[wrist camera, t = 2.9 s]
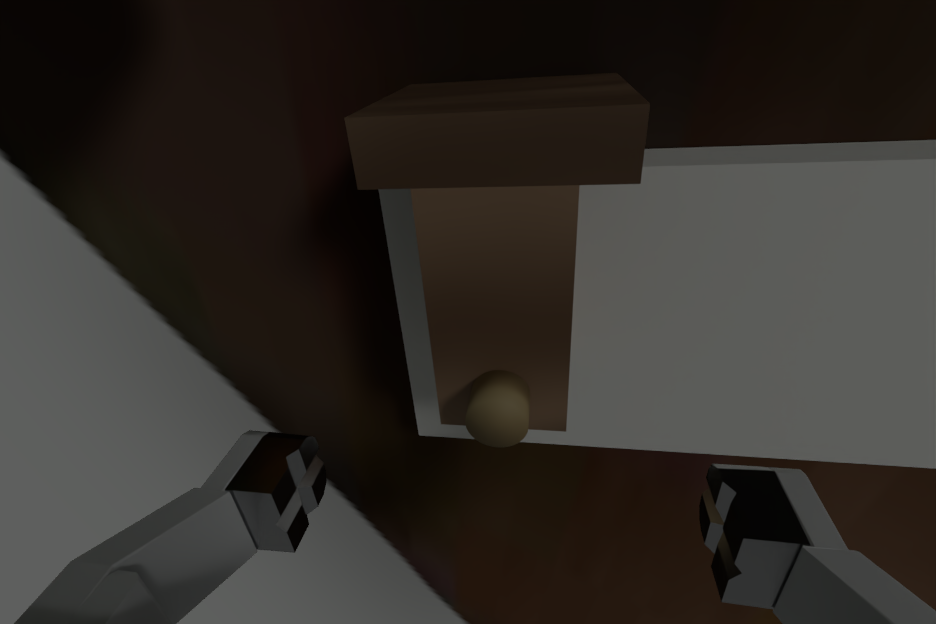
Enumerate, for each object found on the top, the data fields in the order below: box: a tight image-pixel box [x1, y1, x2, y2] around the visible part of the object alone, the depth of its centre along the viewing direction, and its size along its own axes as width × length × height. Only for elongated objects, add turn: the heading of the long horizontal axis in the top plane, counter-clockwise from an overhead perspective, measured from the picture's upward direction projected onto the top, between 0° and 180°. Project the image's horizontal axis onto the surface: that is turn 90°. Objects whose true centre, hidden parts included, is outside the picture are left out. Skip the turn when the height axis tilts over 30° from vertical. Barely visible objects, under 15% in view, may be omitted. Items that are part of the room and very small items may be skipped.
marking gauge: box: [344, 73, 650, 447], centre depth 13 cm, size 8×6×7 cm
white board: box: [378, 140, 936, 468], centre depth 16 cm, size 11×26×2 cm, turn 93°
